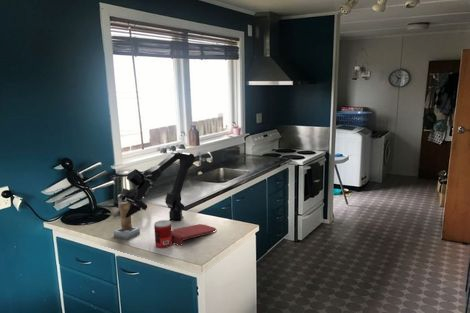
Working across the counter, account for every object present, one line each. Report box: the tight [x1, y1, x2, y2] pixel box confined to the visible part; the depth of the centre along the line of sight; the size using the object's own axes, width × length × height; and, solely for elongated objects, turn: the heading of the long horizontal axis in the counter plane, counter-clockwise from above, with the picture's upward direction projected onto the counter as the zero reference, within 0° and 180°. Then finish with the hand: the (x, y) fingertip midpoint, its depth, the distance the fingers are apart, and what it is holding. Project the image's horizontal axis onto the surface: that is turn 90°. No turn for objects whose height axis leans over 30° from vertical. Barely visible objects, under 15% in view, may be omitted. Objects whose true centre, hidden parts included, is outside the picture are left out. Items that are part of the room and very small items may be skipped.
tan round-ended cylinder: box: [119, 202, 133, 230], centre depth 187 cm, size 5×5×13 cm
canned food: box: [153, 219, 173, 249], centre depth 175 cm, size 8×8×11 cm
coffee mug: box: [117, 193, 133, 213], centre depth 227 cm, size 13×10×10 cm
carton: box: [171, 223, 217, 246], centre depth 187 cm, size 12×5×25 cm
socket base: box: [113, 226, 141, 241], centre depth 188 cm, size 9×9×3 cm
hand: (123, 216), depth 186 cm, fingers closed on tan round-ended cylinder, 5 cm apart
